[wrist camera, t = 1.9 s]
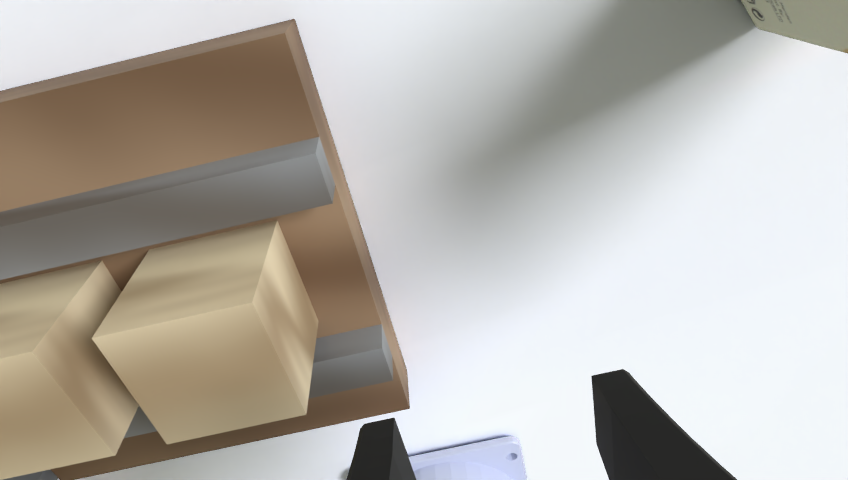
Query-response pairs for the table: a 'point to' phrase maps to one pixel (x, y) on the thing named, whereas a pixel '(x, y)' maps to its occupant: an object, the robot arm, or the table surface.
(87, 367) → the beige cube
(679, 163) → the table surface
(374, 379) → the slot bed
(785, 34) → the skincare box
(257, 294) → the light wooden cube
